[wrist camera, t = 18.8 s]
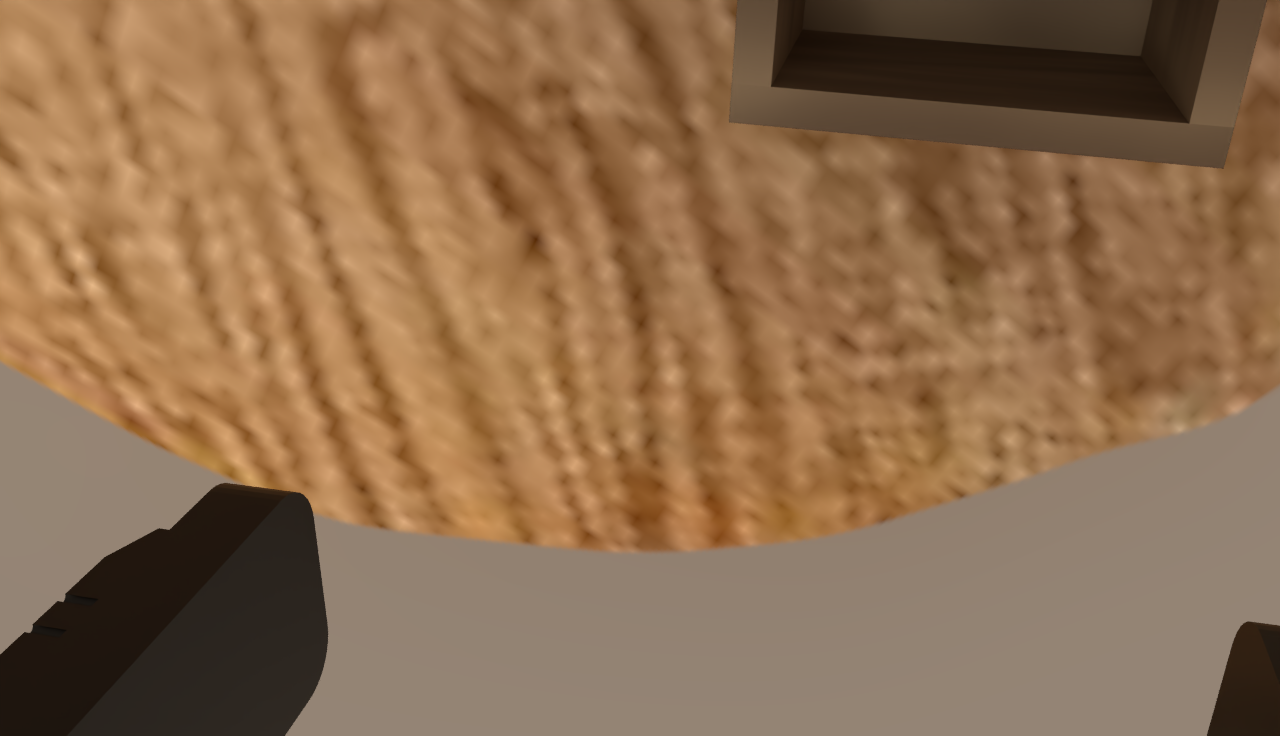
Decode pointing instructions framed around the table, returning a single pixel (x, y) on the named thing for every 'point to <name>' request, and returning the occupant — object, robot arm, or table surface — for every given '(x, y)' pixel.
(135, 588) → the robot arm
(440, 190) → the table surface
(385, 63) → the table surface
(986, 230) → the table surface
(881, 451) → the table surface
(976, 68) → the mini nightstand
